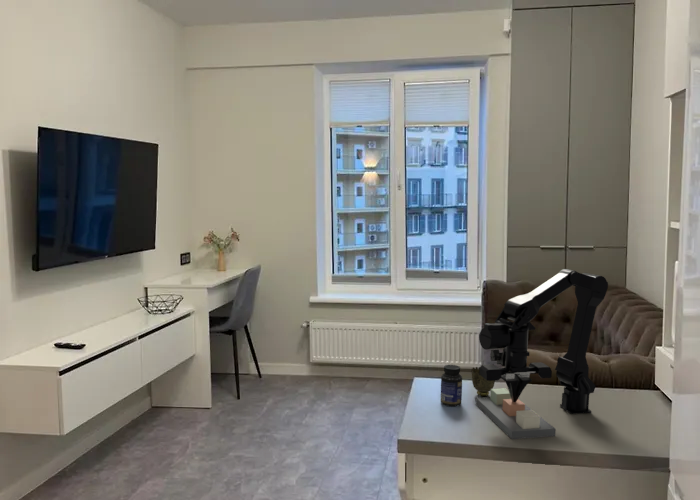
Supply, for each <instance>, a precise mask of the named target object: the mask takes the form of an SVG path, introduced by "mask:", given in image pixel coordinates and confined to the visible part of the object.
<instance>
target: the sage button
mask: <svg viewBox="0 0 700 500" xmlns="http://www.w3.org/2000/svg"><path fill="white" fill-rule="evenodd" d="M489 395H490V396H489V397H490V400H491V401H492V402H493V403H494V404H496V405H502V404H503V399H511V396H510V393H509V390H508V388H506V387H504V388H503V387H502V388H493V389H491V391H490V393H489Z"/></svg>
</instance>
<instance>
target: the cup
mask: <svg viewBox="0 0 700 500" xmlns="http://www.w3.org/2000/svg"><path fill="white" fill-rule="evenodd" d="M480 367H481V366H479V367H478V366H476V367H474V366H473V367H472V368H471V369H470V371H471V379H472V380H471V381H472V386H473V388H474V389H475V391H476V395H477V396H479V397H481V398H484V397H489V395H490V392H491V389H494V387H495V382H496V381H488V380H486V379H484V378H483V377H482V376H481V375H480V374H479V369H480Z"/></svg>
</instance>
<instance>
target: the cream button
mask: <svg viewBox="0 0 700 500" xmlns="http://www.w3.org/2000/svg"><path fill="white" fill-rule="evenodd" d="M536 413H537V412H536V411H534V410H533V409H532V410H523V411H516V423H517V424H518V425H519V426H520V427H521V428H522V429H532V428H539V427H540V417H541V416H540V415H539V414H538V413H537V414H536Z"/></svg>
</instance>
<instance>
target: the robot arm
mask: <svg viewBox="0 0 700 500" xmlns="http://www.w3.org/2000/svg"><path fill="white" fill-rule="evenodd" d="M572 286H573V287H574V294H575V297H576V301H577V305H576V311H575V315H574V320H573V323H572V324H573V325H572V330H571V334H570V338H569V344H568V347H567V352H565V354H564V355H563V356H558V358H557V361H556V367H555V368H554V371H556V372H555V375H556V377H557V379H558V380H559V385H560V386H562V387H563V392H562V394H561V404H559V406H560V407H561V408H562V409H563V410H564V411H566V412H568V413H569V414H571V415H577V414H591V413H592V412H593V411H592V410H591V409H590V408H589V407H590V395H591V394H594V393H595V389H596V384H595V383H594V382H593V381H592V380H591V378H589V371H590V369H589V368H590V366H589V364H588V360H587V358H586V357H587V353H588V351H587V350H588V347H589V342H590V339H591V338H590V337H591V333H592V328H593V324H594V319H595V316H596V311H597V307H598V306H599V305H600V304H601V303H602V302H603V301H604V300H605V296H606V294H607V291H608V288H609V282H608V281H607V279H606V278H605V276H602V275H597V274H593V273H590V272H589V273H588V272H582V273H581V272H578V271H576V270H573V269H568V268H563V269H560V271H559V272H558V273H556V274H555V275H553V277H550V278H549V279H548V280H547V281H545V282H543V283H541V284H540V285H539V286H538V287H536V288H534V289H533V290H532V291H530V292H528V293H525V294H520V295H517V296H514V297H512V298H509V299H508V300H507V301H506V302H505V303H504V306H503V309H502V310H500V313H499V314H498V316H497V318H496V319H495V321H494V323H484V325H483V328H481V330H480V331H479V334H478V340H479V341H478V342H479V344H480V346H481V347H482V349H483V350H487V351H488V350H490V355H489V357H490V361H491V362H496V364H497V365H501V366H502V367H498V366H496V365H495V364H494V363H493V364H481V365H480V366H479V367H480V369H479V368H478V369H479V374H480V375H481V376H482V377H483V378H484V379H486V380H488V381H495V382H496V381H500V379H502V380H503V381H504V382H505V384H506V386H507V390H508V391H509V393H510V396H511V399H512V401H513V402H516V401H517V400H518V399H519V398H520V396H521V394H522V393H523V392H524V389H525V388H526V387H527V385H529V383H532V381H533V379H532V378H530V376H531V375H533V374H534V375H535V374H538V375H537V376H538V377H540V378H541V379H551V378H552V377H553V375H552V373H553V371H552V367H550V366H548V365H547V364H546V363H544V362H541V361H539V362H538V361H537V362H530V363H529V364H528V357H530V353H531V352H530V351H528V346H529V345H528V343H529V331H534V330H536V327H535V326H534V325H533V324H532V322H531V321H532V320H533V319H535V317H536V316H537V315H538V314H539V312H540V309H541V308H542V307H543V306H545V304H547V303H548V302H551V300H553V299H555V298H556V297H557V296H559V295H560V294H562V293H563V292H564V291H566V290H568V289H569V288H571V287H572ZM500 349H502V352H500Z"/></svg>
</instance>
